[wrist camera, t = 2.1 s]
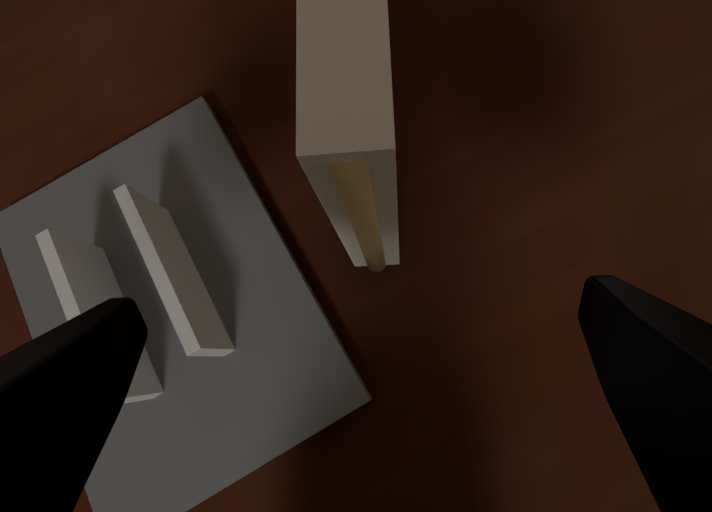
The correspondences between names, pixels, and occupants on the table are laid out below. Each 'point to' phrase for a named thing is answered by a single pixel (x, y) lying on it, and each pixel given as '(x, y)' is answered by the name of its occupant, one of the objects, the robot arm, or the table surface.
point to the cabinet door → (349, 123)
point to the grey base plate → (183, 311)
